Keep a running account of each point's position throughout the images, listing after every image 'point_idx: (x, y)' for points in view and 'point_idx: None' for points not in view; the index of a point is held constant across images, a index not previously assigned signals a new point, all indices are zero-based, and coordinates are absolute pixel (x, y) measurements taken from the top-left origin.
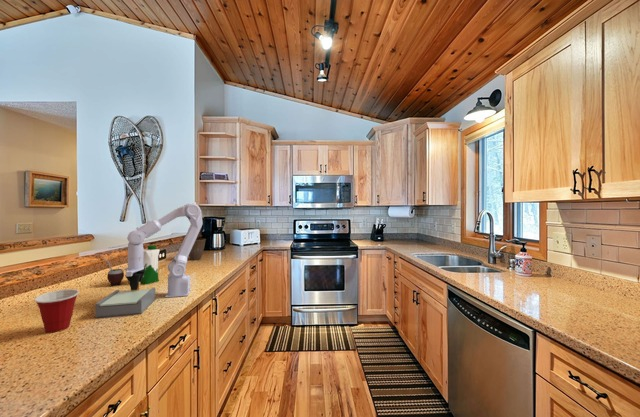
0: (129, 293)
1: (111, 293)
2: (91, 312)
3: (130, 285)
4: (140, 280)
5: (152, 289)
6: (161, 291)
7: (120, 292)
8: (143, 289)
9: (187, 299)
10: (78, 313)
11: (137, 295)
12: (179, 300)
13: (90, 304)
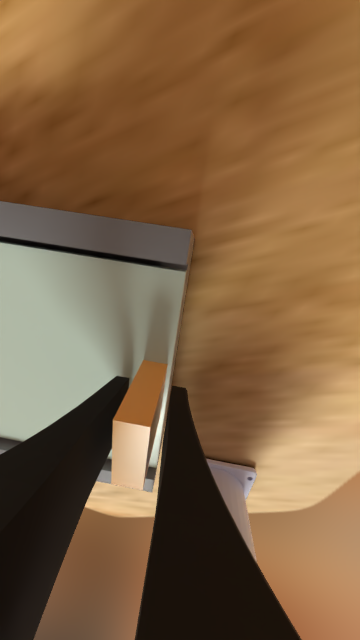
0: (75, 360)
1: (61, 214)
2: (28, 126)
3: (83, 405)
4: (156, 507)
5: (106, 479)
6: (305, 439)
7: (127, 286)
8: (157, 431)
9: (120, 503)
10: (19, 10)
11: (17, 410)
12: (116, 485)
13: (237, 8)
